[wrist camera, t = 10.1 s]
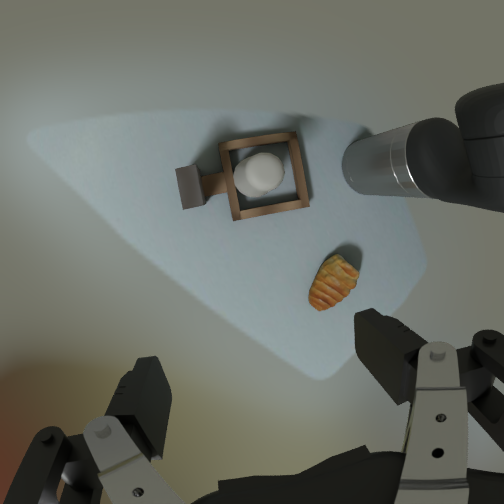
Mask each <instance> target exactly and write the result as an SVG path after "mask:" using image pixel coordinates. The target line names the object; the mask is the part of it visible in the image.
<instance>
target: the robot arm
mask: <svg viewBox="0 0 504 504" xmlns="http://www.w3.org/2000/svg"><path fill="white" fill-rule="evenodd" d="M455 113H456V118H457V122H458V126H459V128H458V127H457V126H456V125H455V124H453V123H452V122H450V121H449V120H446V119H444V118H430V119H426V120H423V121H419V122H416V123H412V124H409V125H406V126H403V127H399V128H396V129H393V130H390V131H387V132H383V133H380V134H377V135H374V136H371V137H368V138H365V139H362V140H359V141H356V142H354V143H352V144H351V145H350V146H349V147H348V148H347V149H346V151H345V153H344V156H343V159H342V170H343V174H344V177H345V179H346V181H347V183H348V184H349V185H350V187H351V188H353V189H354V190H355V191H357V192H358V193H361V194H364V195H379V196H399V197H417V198H432V199H439V200H441V201H444V202H449V203H457V204H463V205H468V206H474V207H478V208H482V209H487V210H492V211H497V212H503V213H504V83H501V84H496V85H491V86H486V87H482V88H479V89H476V90H474V91H471V92H469V93H467V94H465V95H464V96H462V97H461V98H460V99H459V100H458V101H457V103H456V106H455ZM354 331H355V350H356V353H357V356H358V358H359V359H360V361H361V362H362V363H363V364H364V365H365V367H366V368H367V369H368V370H369V371H370V373H371V374H372V375H373V376H374V378H375V379H376V380H377V381H378V382H379V383H380V385H381V386H382V387H383V388H384V390H385V391H386V392H387V393H388V394H389V396H390V397H391V398H392V399H393V401H394V402H395V403H396V404H397V405H400V404H402V403H404V402H406V401H409V402H410V403H411V404H410V409H409V414H408V421H407V426H406V431H405V436H404V441H403V445H402V449H401V452H393V451H387V452H386V451H382V452H373V453H370V452H369V451H368V449H367V448H366V446H365V445H363V446H360V447H358V448H355V449H352V450H350V451H347V452H344V453H341V454H338V455H335V456H332V457H330V458H328V459H326V460H324V461H323V462H321V463H319V464H317V465H315V466H313V467H311V468H309V469H307V470H305V471H303V472H301V473H299V474H295V475H282V476H281V475H280V476H249V477H243V478H236V479H228V480H220V481H218V488H219V490H218V491H215V492H212V493H210V494H207V495H205V496H203V497H201V498H199V499H198V500H196V501H194V502H193V503H191V504H504V473H496V472H488V471H482V470H476V469H470V468H467V456H468V412H469V413H470V414H471V416H472V417H473V418H474V419H475V420H476V421H477V422H478V423H479V424H480V425H481V427H482V428H483V429H484V430H485V431H486V432H487V433H488V434H489V435H490V437H491V438H492V439H493V440H494V441H495V442H496V443H497V445H498V446H499V447H500V448H501V449H502V450H503V451H504V395H503V394H502V393H501V392H500V391H499V390H498V389H496V388H495V387H494V386H493V383H494V380H495V377H497V378H498V379H499V380H500V381H502V382H503V383H504V335H503V334H501V333H499V332H497V331H494V330H482V331H479V332H477V333H476V334H475V335H474V336H473V340H472V345H471V346H468V347H465V348H461V349H457V350H456V349H455V348H454V347H453V346H452V345H450V344H448V343H445V342H431V343H428V342H427V341H426V340H424V339H423V338H422V337H420V336H419V335H418V334H416V333H415V332H414V331H412V330H410V329H409V328H408V327H407V326H404V324H403V323H402V322H400V321H399V320H398V319H395V318H393V317H389V316H383V315H381V314H380V313H379V312H377V311H376V310H375V309H373V308H370V309H367V310H364V311H361V312H357V313H355V315H354ZM171 402H172V393H171V389H170V386H169V383H168V381H167V378H166V376H165V374H164V371H163V369H162V366H161V364H160V361H159V360H158V357H156V356H151V357H143V358H138V359H137V361H136V364H135V366H134V368H133V370H132V371H128V372H127V373H126V374H125V375H124V376H123V377H122V378H121V380H120V382H119V384H118V386H117V389H116V391H115V393H114V395H113V397H112V400H111V402H110V404H109V406H108V408H107V411H106V413H105V415H104V416H101V417H98V418H95V419H94V420H92V421H91V422H89V423H88V424H87V425H86V427H85V429H84V432H83V434H78V435H73V436H68V437H67V436H66V435H65V434H64V432H63V431H62V430H61V429H60V428H59V427H55V426H50V427H46V428H44V429H42V430H40V431H39V432H38V433H37V434H36V435H35V437H34V438H33V440H32V442H31V444H30V446H29V448H28V450H27V452H26V454H25V456H24V458H23V460H22V462H21V464H20V466H19V469H18V471H17V473H16V475H15V477H14V479H13V482H12V484H11V486H10V488H9V491H8V493H7V496H6V498H5V501H4V503H3V504H100V499H101V494H102V489H103V488H104V489H105V491H106V492H107V494H108V496H109V498H110V500H111V501H112V503H113V504H185V502H184V501H183V500H182V499H181V498H180V497H179V496H178V495H177V494H176V493H175V492H174V491H173V489H172V488H171V487H170V486H169V485H168V484H167V483H166V482H165V481H164V479H163V478H162V477H161V476H160V475H159V473H158V472H157V471H156V470H155V468H154V467H153V466H152V465H151V464H150V462H151V460H161V459H162V456H163V449H164V444H165V438H166V431H167V425H168V419H169V413H170V407H171ZM61 478H62V479H63V480H64V481H65V486H64V489H63V492H62V495H61V499H60V502H59V501H58V500H57V496H56V491H57V488H58V485H59V482H60V479H61Z"/></svg>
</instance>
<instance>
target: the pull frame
mask: <svg viewBox="0 0 504 504" xmlns="http://www.w3.org/2000/svg"><path fill="white" fill-rule="evenodd" d="M282 142H287V143H288V148H289V153H290V158H291V163H292V169H293V174H294V180H295V185H296V191H297V197H298V200H293V201H288V202H282V203H277V204H271V205H266V206H260V207H255V208H250V209H245V210H240V208H239V203H238V198H237V193H236V187H235V183H234V178H233V172H232V167H231V161H230V156H229V151H231V150H236V149H242V148H248V147H254V146H261V145H267V144H274V143H282ZM218 146H219V151H220V156H221V162H222V167H223V172H220V173H215V174H210V175H205V176H201V173H200V169H199V168H198V167H197V165H196V164H195V165H190V166H186V167H181V168H177V169H175V171H176V176H177V181H178V187H179V192H180V197H181V202H182V207H183V210H184V209H189V208H193V207H198V206H202V205H205V204H206V199H205V197H206V196H211V195H216V194H221V193H226V192H227V193H228V198H229V203H230V208H231V213H232V219H233V221H236V220H241V219H246V218H251V217H257V216H262V215H267V214H272V213H277V212H283V211H288V210H294V209H299V208H305V207H310V205H309V199H308V193H307V187H306V181H305V176H304V170H303V165H302V160H301V154H300V149H299V144H298V139H297V134H296V131H295V132H286V133H278V134H270V135H263V136H257V137H250V138H244V139H238V140H232V141H226V142H221V143H218Z"/></svg>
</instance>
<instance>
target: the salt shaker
mask: <svg viewBox="0 0 504 504" xmlns="http://www.w3.org/2000/svg"><path fill="white" fill-rule="evenodd" d="M284 174H285V171H284V166H283V163H282V162H281V161H280V159H279V158H278V157H277V156H275V155H273V154H271V153H258V154H256V155H254V156H252V157H248V158H246V159H244V160H242V161H241V162H240V163H239V164H238V165H237V166H236V167H235V171H234V175H233V178H234V183H235V186H236V187H237V189H238V190H239V191H240V193H242V194H244V195H246V196H248V197H260V196H262V195H265V194H267V193H268V192H269V191H271V190H273V189H276V188H277V187H278V186H279V185H280V183H281V182H282V181H283V177H284Z"/></svg>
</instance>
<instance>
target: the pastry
mask: <svg viewBox="0 0 504 504" xmlns="http://www.w3.org/2000/svg"><path fill="white" fill-rule="evenodd" d="M359 274H360V273H359V272H358V271H357V270H356V269H355V268H354V267H353V266H352V265H350V264H348V263H347V261H345V260H344V258H343V257H342V256H341V255H339V254H336V255H333V256H332V257H330V258H329V259H327V260H326V261H325V262H324V263H323V264H322V266H321V267H320V269H319V271H318V272H317V275H316V276H315V279H314V281H313V283H312V286H311V288H310V290H309V297H308V299H309V303H310V304H311V305H312V306H313V307H314V308H315V309H317V310H318V311H322V310H326V309H328V308H330V307H333V306H335V304H336V303H338V302H341V301H342V299H343V298H344V297H347V295H348V294H349V293H350V290H351V289H353V288H355V286H356V284H357V279H358V278H359Z"/></svg>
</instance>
